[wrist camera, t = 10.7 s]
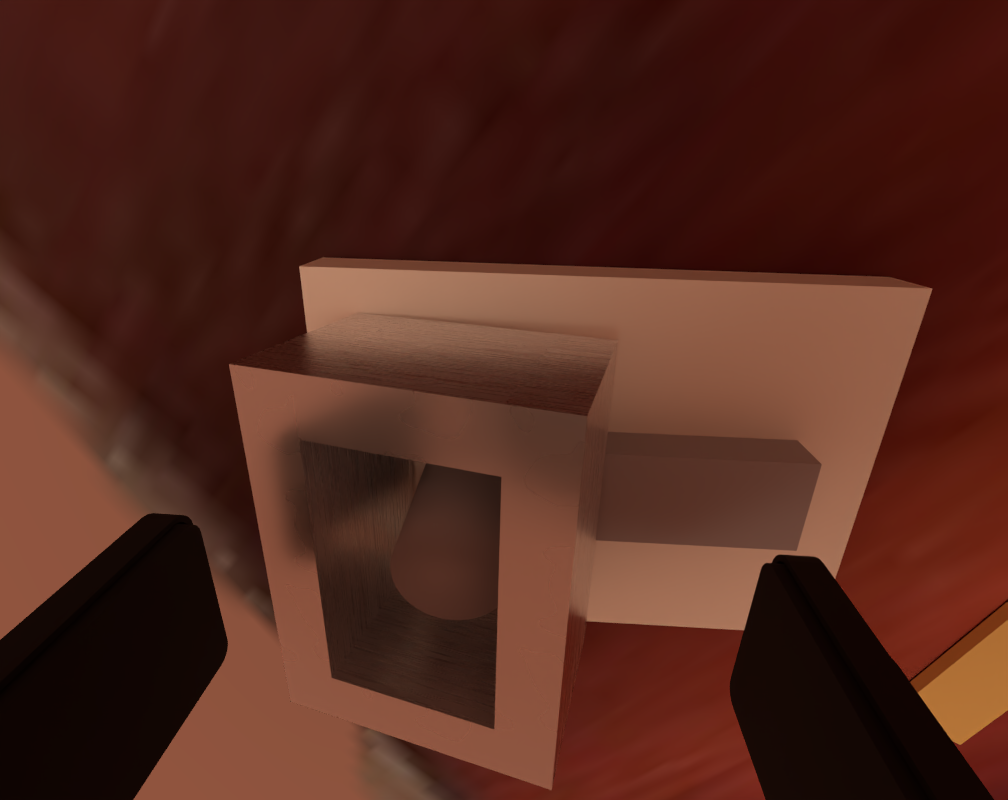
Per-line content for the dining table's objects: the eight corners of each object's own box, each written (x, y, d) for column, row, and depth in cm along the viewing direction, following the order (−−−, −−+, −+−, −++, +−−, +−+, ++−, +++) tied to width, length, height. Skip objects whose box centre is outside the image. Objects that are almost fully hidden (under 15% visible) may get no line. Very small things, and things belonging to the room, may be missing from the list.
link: (617, 340, 11) (587, 416, 7) (585, 635, 14) (551, 790, 10) (358, 312, 12) (229, 364, 9) (380, 583, 15) (290, 701, 12)
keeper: (889, 276, 13) (1120, 339, 8) (793, 597, 17) (906, 777, 12) (323, 257, 13) (196, 304, 8) (355, 572, 17) (281, 735, 12)
